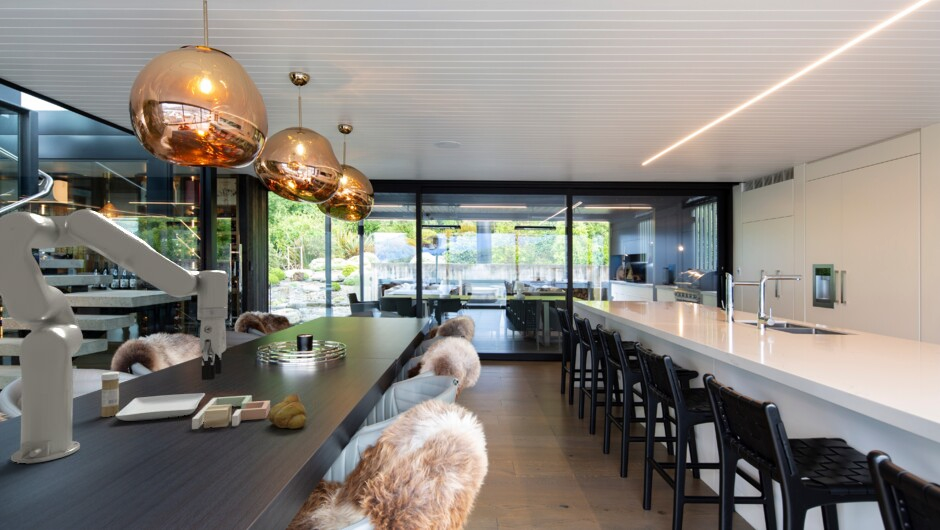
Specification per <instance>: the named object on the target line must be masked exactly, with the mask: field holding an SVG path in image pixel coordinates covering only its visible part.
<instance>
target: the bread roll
mask: <svg viewBox="0 0 940 530" xmlns="http://www.w3.org/2000/svg"><path fill="white" fill-rule="evenodd" d="M268 420H269V422H270V423H271V424H272V425H275V426H276V427H278V428H281V429H285V428H286V429H298V428H302V427H303V426H305V424H306V422H307V411H306V408H305V406H304V405H303V404H302V402H301V399H300V397H299V396H298V395H296V394H294V393H293V394H289V395H288V396H286V397H285V398H284V399H283V400H282V402H279V403H278V404H276V405H274V406H273V407H271V408H270V411H269V413H268Z"/></svg>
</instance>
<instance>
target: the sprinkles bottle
mask: <svg viewBox="0 0 940 530" xmlns="http://www.w3.org/2000/svg"><path fill="white" fill-rule="evenodd" d="M100 379H101V414H100V417H101V418H111V417H110V416H112V417H115V416H114V415H116V414H117V413H118V412H120V411H119V407H120V406H119V402H120V382H119V381H120V372H119V371H108V372H103V373H101V377H100Z"/></svg>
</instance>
